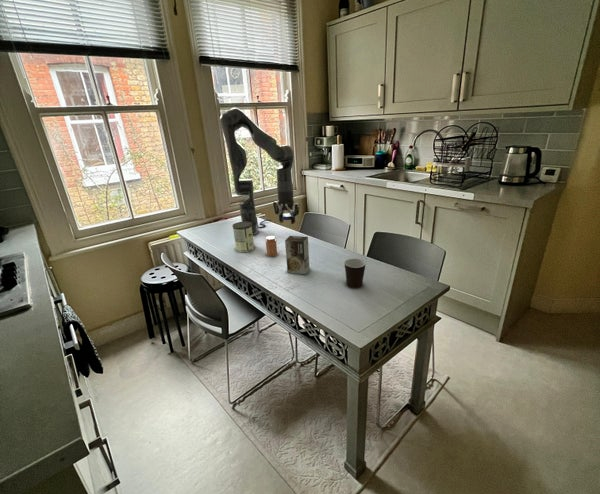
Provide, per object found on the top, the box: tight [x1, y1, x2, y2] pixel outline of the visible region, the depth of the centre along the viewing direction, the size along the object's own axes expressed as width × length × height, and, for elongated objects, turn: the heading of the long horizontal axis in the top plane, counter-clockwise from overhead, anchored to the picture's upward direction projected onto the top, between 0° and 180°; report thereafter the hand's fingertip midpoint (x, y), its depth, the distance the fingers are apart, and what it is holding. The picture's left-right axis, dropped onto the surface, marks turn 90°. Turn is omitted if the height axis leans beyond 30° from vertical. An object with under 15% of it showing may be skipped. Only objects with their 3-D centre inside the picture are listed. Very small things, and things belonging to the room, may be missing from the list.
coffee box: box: [284, 235, 310, 275], centre depth 143 cm, size 9×6×16 cm
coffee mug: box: [343, 258, 366, 289], centre depth 132 cm, size 12×9×10 cm
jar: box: [265, 235, 278, 258], centre depth 163 cm, size 5×5×10 cm
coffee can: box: [232, 221, 255, 253], centre depth 172 cm, size 10×10×14 cm
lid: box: [282, 212, 291, 221], centre depth 158 cm, size 6×6×2 cm
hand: (287, 222), depth 158 cm, fingers closed on lid, 5 cm apart
